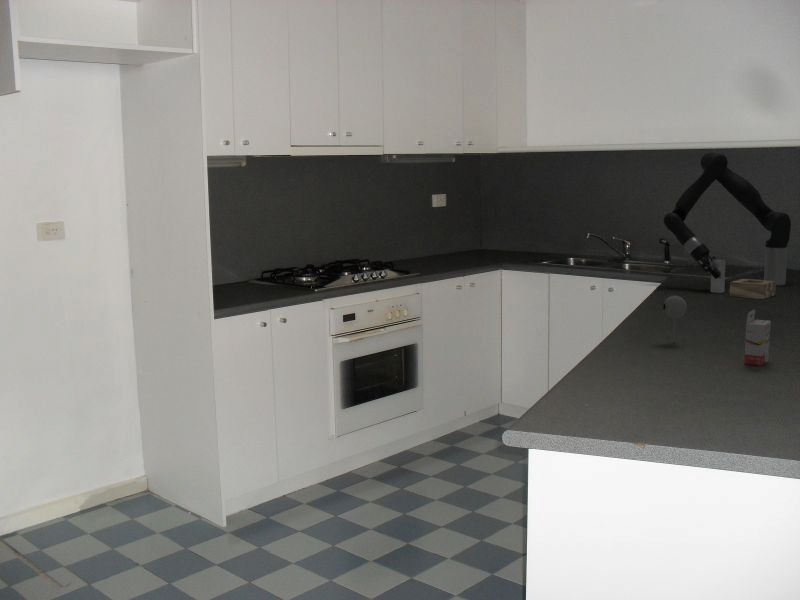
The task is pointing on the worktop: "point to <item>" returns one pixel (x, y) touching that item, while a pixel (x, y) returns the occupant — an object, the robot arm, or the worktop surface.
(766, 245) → the robot arm
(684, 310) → the lollipop
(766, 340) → the ink cartridge box
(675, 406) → the worktop surface
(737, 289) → the well block
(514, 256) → the worktop surface
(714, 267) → the grey square pillar
